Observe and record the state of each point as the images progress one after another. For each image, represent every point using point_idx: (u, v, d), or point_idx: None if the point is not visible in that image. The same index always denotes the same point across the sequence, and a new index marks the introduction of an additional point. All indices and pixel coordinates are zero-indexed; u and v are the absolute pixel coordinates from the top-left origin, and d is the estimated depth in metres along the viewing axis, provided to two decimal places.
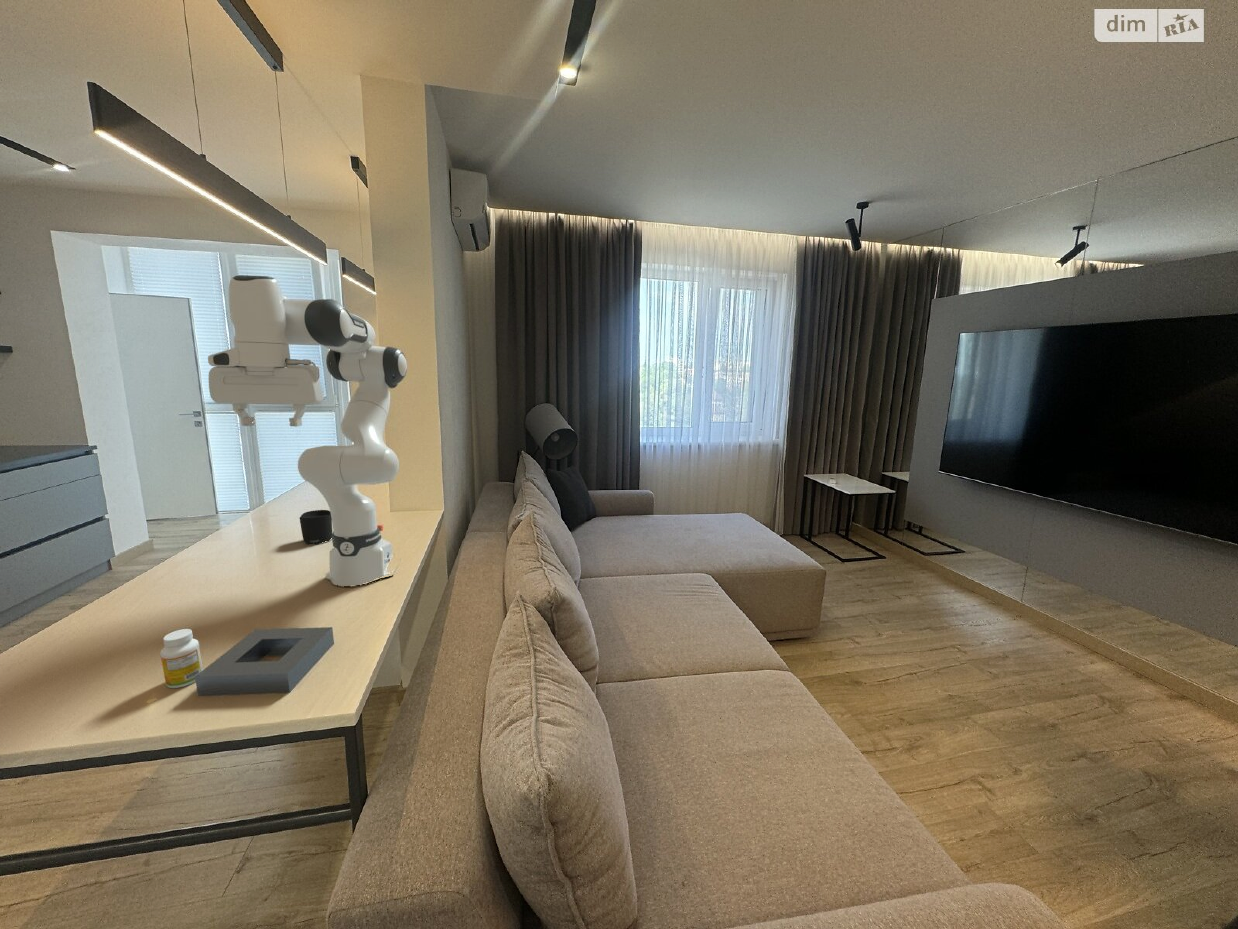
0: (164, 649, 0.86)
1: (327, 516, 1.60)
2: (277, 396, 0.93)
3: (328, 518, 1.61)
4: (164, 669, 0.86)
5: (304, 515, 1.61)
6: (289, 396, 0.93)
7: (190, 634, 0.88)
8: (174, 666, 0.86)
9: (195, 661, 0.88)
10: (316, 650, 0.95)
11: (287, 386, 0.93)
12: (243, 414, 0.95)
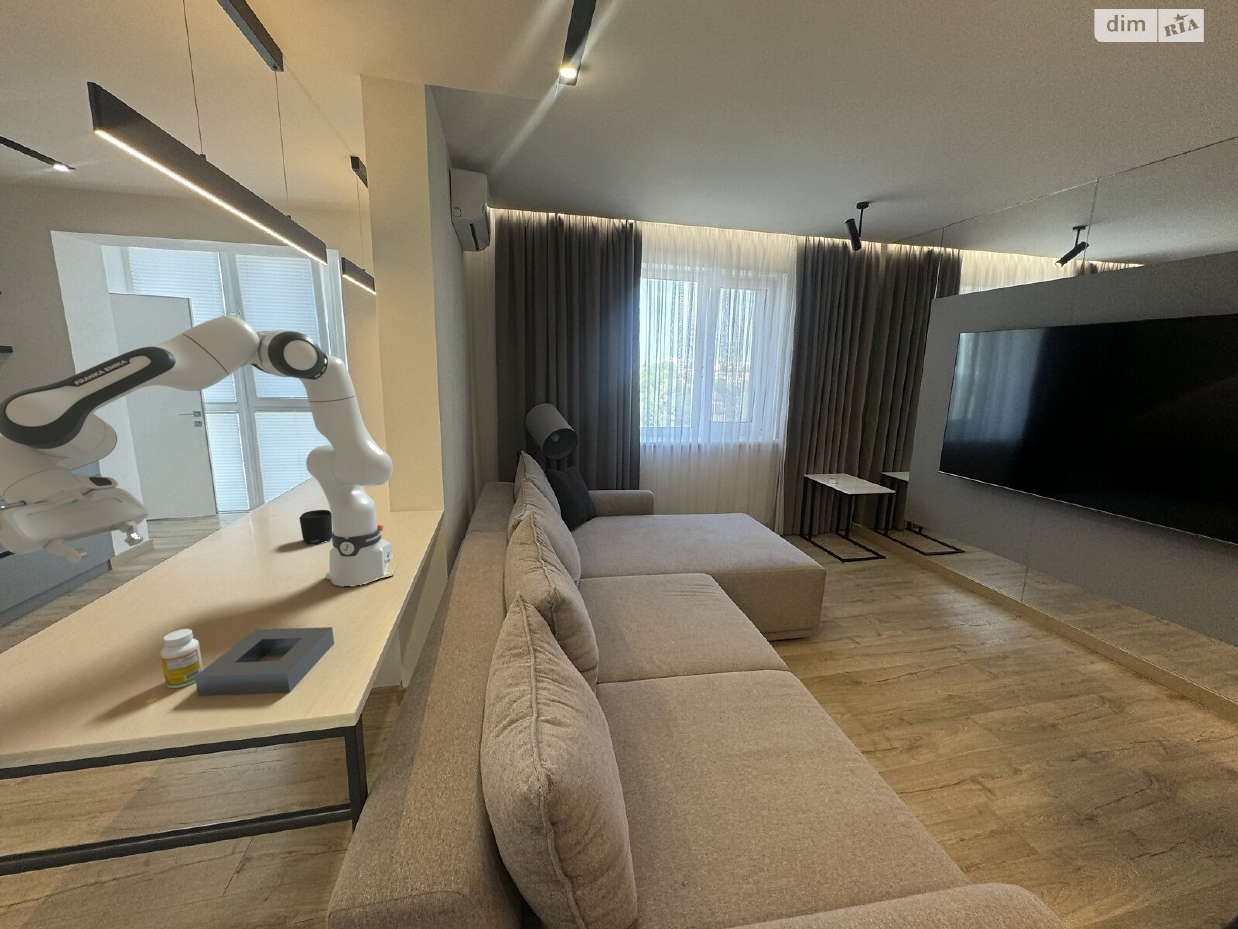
0: (164, 649, 0.86)
1: (327, 516, 1.60)
2: None
3: (328, 518, 1.61)
4: (164, 669, 0.86)
5: (304, 515, 1.61)
6: None
7: (190, 634, 0.88)
8: (174, 666, 0.86)
9: (195, 661, 0.88)
10: (316, 650, 0.95)
11: None
12: (129, 535, 0.90)
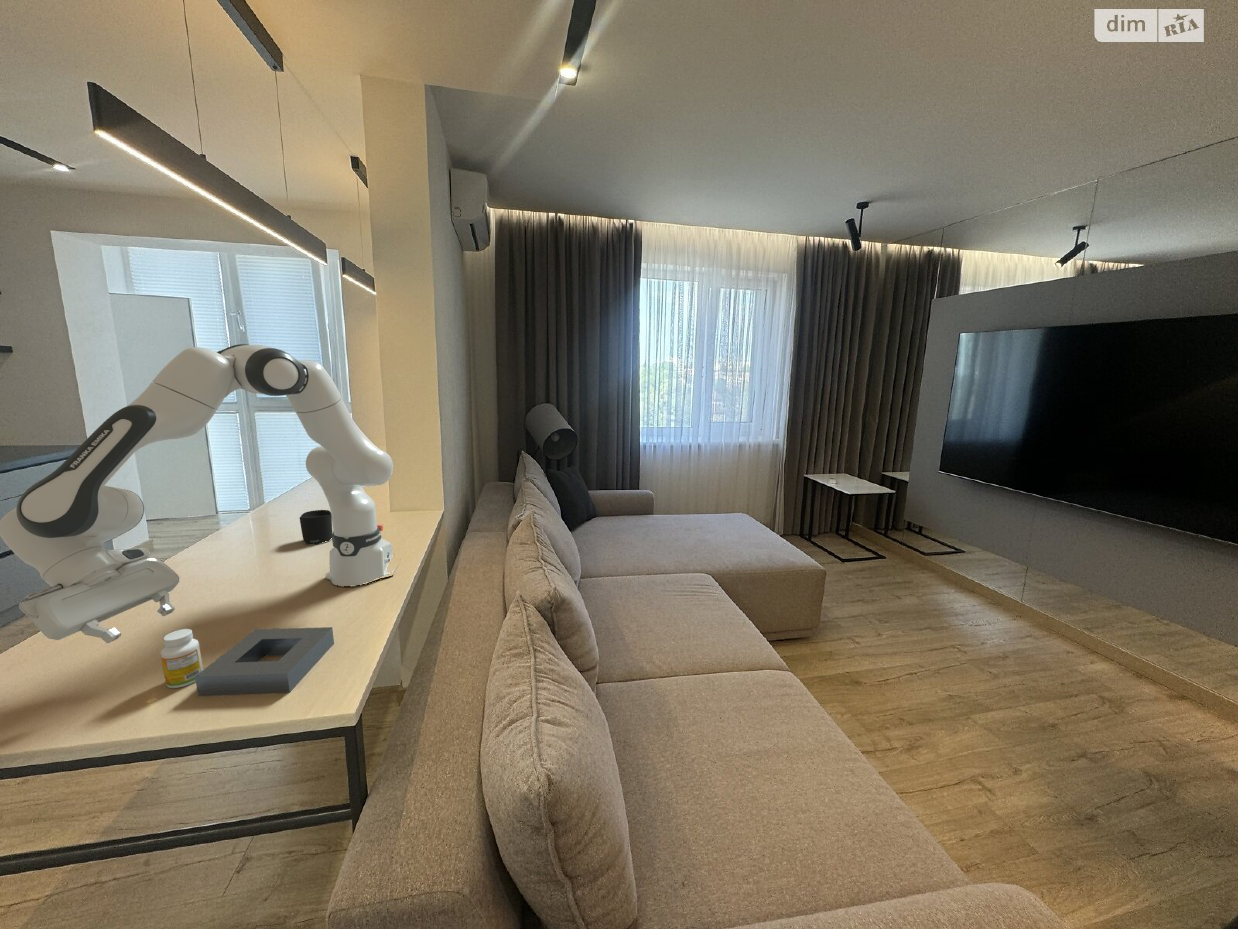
0: (164, 649, 0.86)
1: (327, 516, 1.60)
2: None
3: (328, 518, 1.61)
4: (164, 669, 0.86)
5: (304, 515, 1.61)
6: None
7: (190, 634, 0.88)
8: (174, 666, 0.86)
9: (195, 661, 0.88)
10: (316, 650, 0.95)
11: None
12: (161, 604, 0.92)
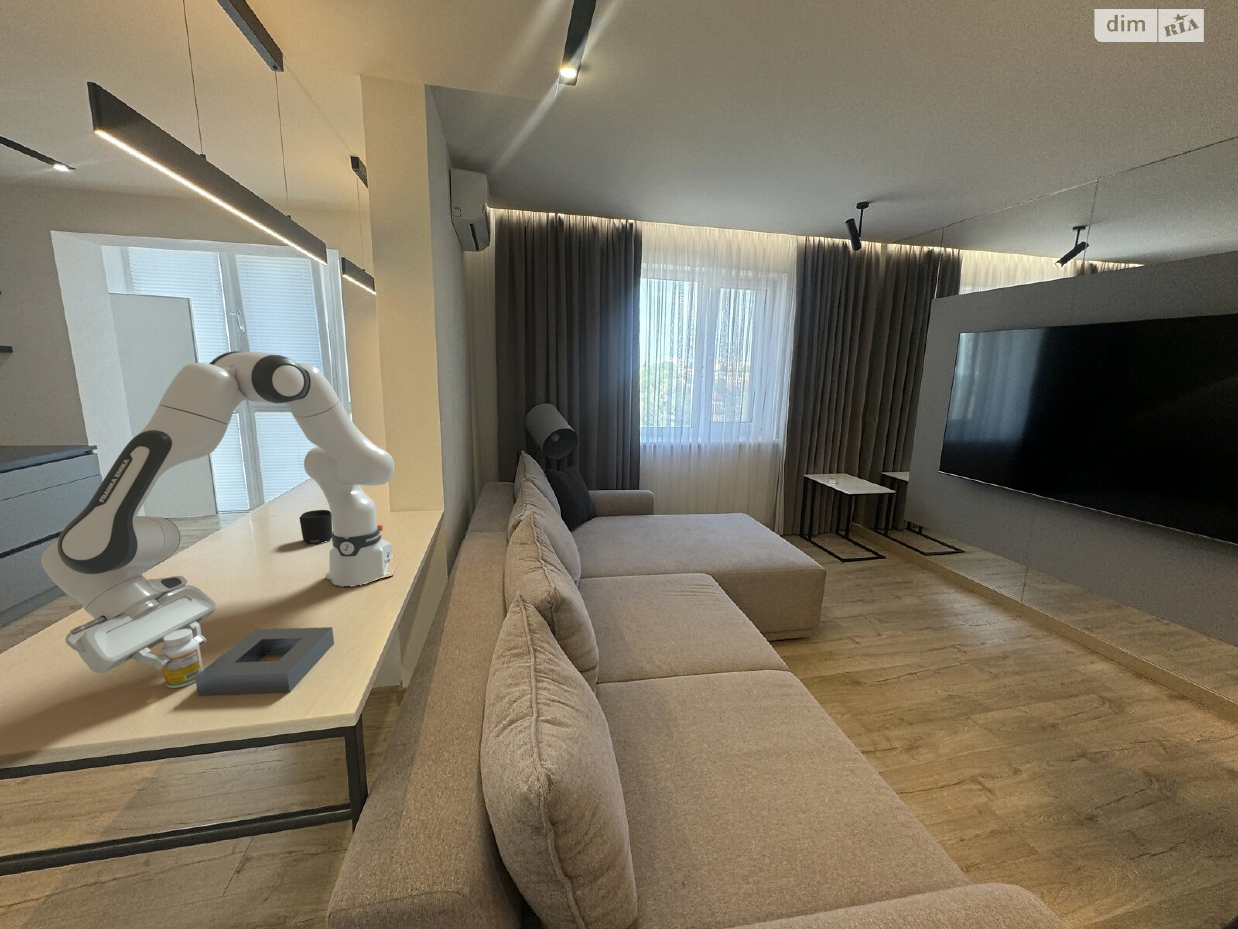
0: (164, 649, 0.86)
1: (327, 516, 1.60)
2: None
3: (328, 518, 1.61)
4: (164, 669, 0.86)
5: (304, 515, 1.61)
6: None
7: (190, 634, 0.88)
8: (174, 666, 0.86)
9: (195, 661, 0.88)
10: (316, 650, 0.95)
11: None
12: (193, 636, 0.91)
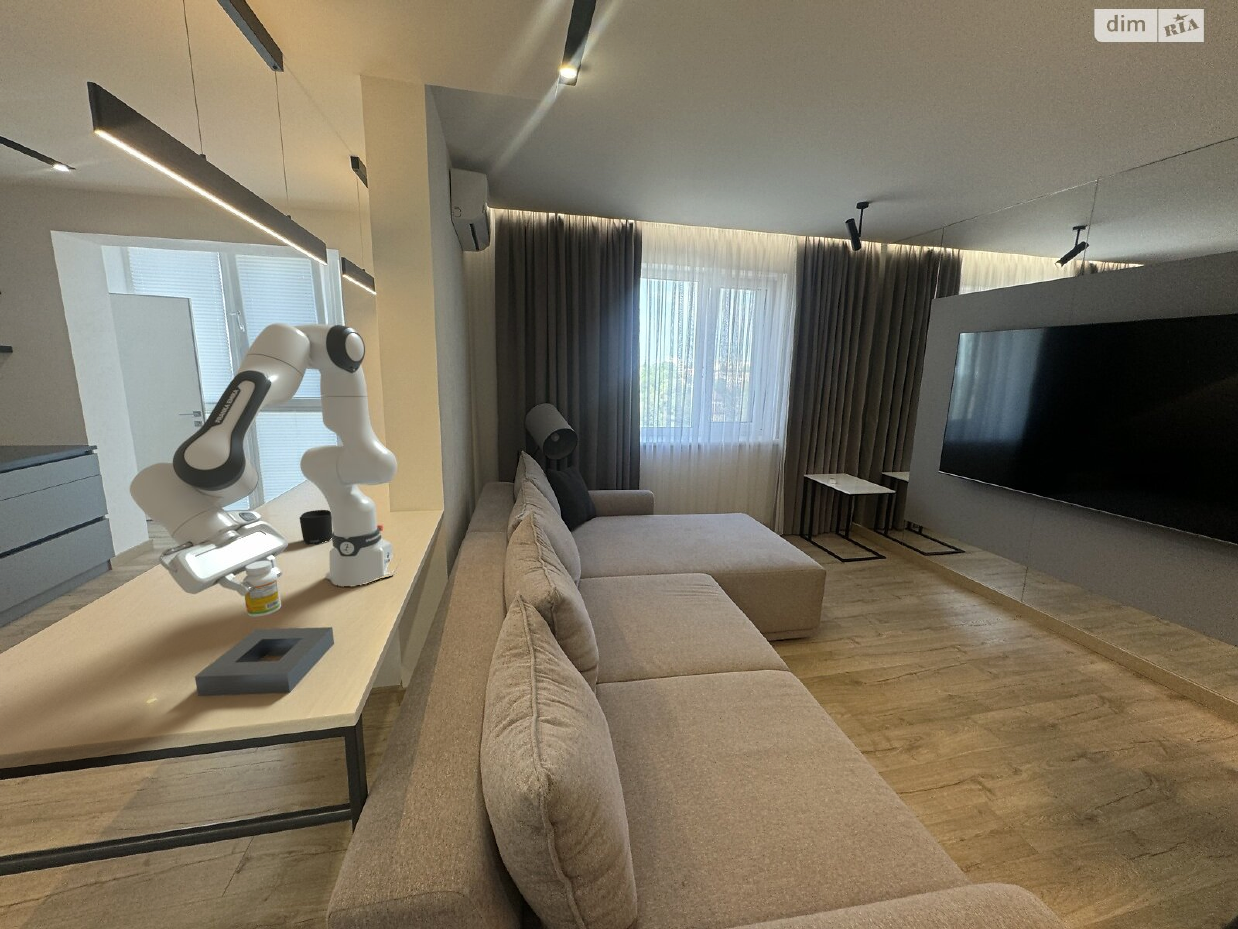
0: (246, 578, 0.88)
1: (327, 516, 1.60)
2: None
3: (328, 518, 1.61)
4: (246, 597, 0.88)
5: (304, 515, 1.61)
6: None
7: (270, 565, 0.90)
8: (256, 595, 0.88)
9: (275, 591, 0.90)
10: (316, 650, 0.95)
11: None
12: None
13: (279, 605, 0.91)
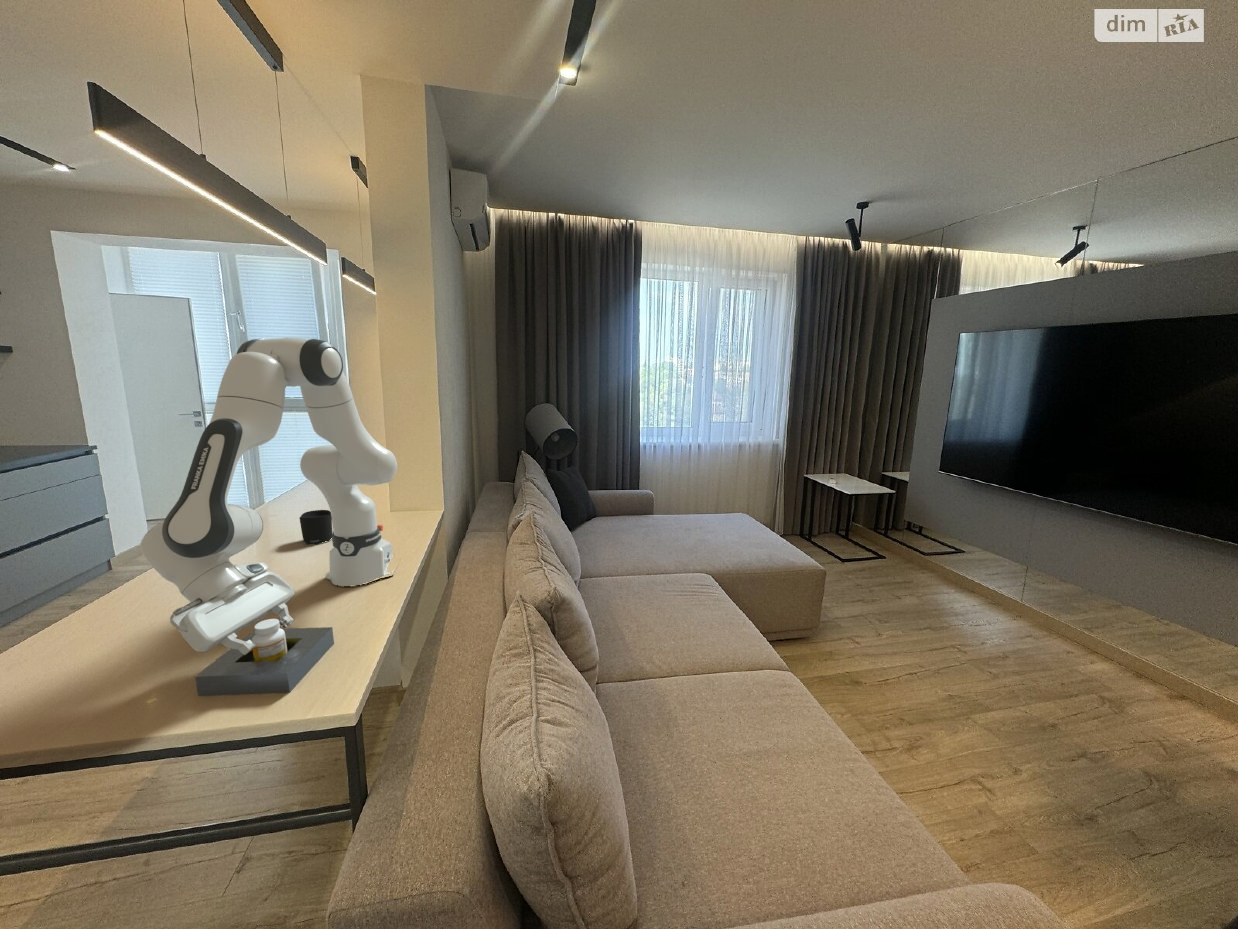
0: (255, 637, 0.90)
1: (327, 516, 1.60)
2: None
3: (328, 518, 1.61)
4: (255, 656, 0.90)
5: (304, 515, 1.61)
6: None
7: (278, 623, 0.92)
8: (265, 654, 0.90)
9: (282, 649, 0.92)
10: (316, 650, 0.95)
11: None
12: (281, 616, 0.97)
13: None
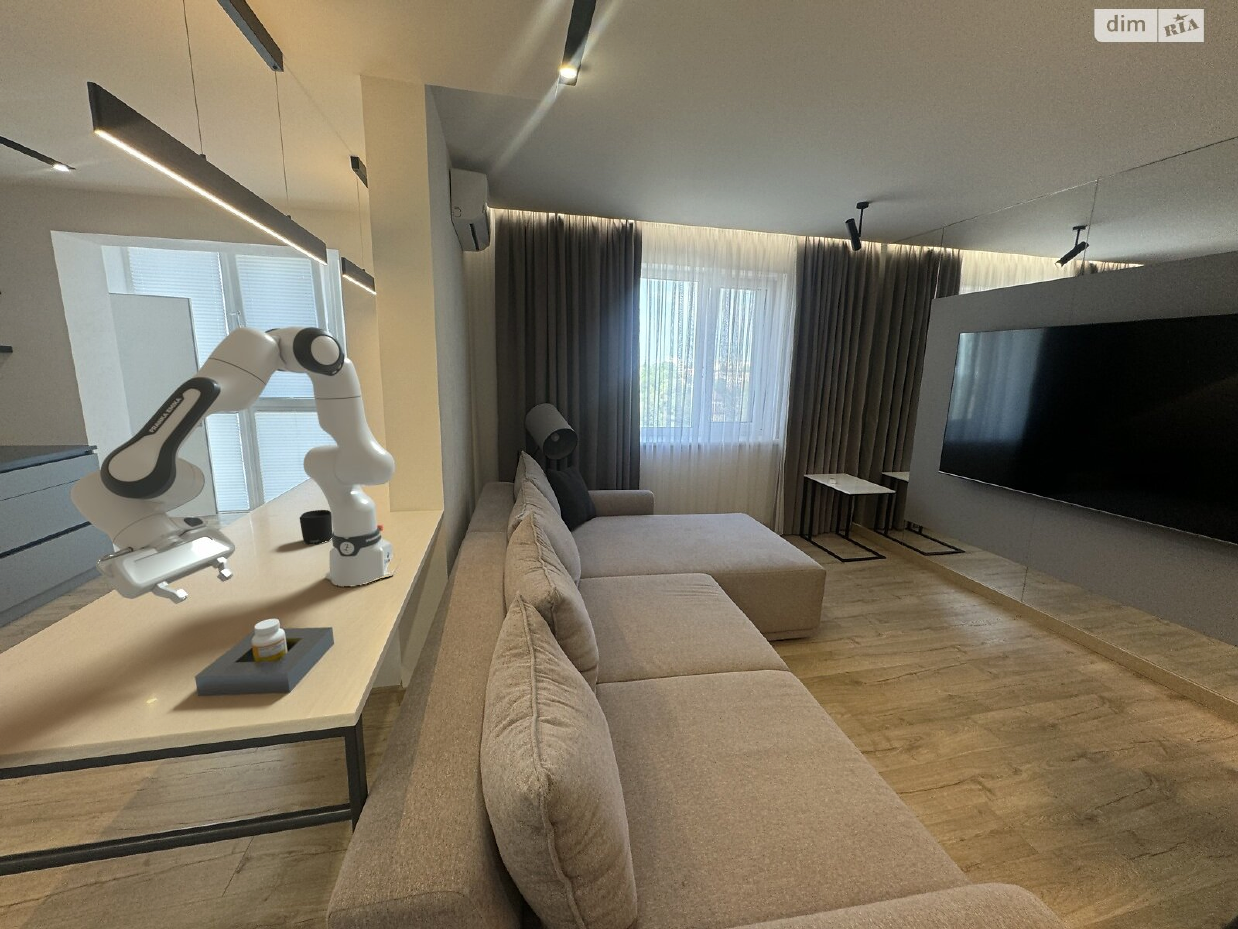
0: (255, 637, 0.90)
1: (327, 516, 1.60)
2: None
3: (328, 518, 1.61)
4: (255, 656, 0.90)
5: (304, 515, 1.61)
6: None
7: (278, 623, 0.92)
8: (265, 654, 0.90)
9: (282, 649, 0.92)
10: (316, 650, 0.95)
11: None
12: (220, 571, 0.96)
13: None
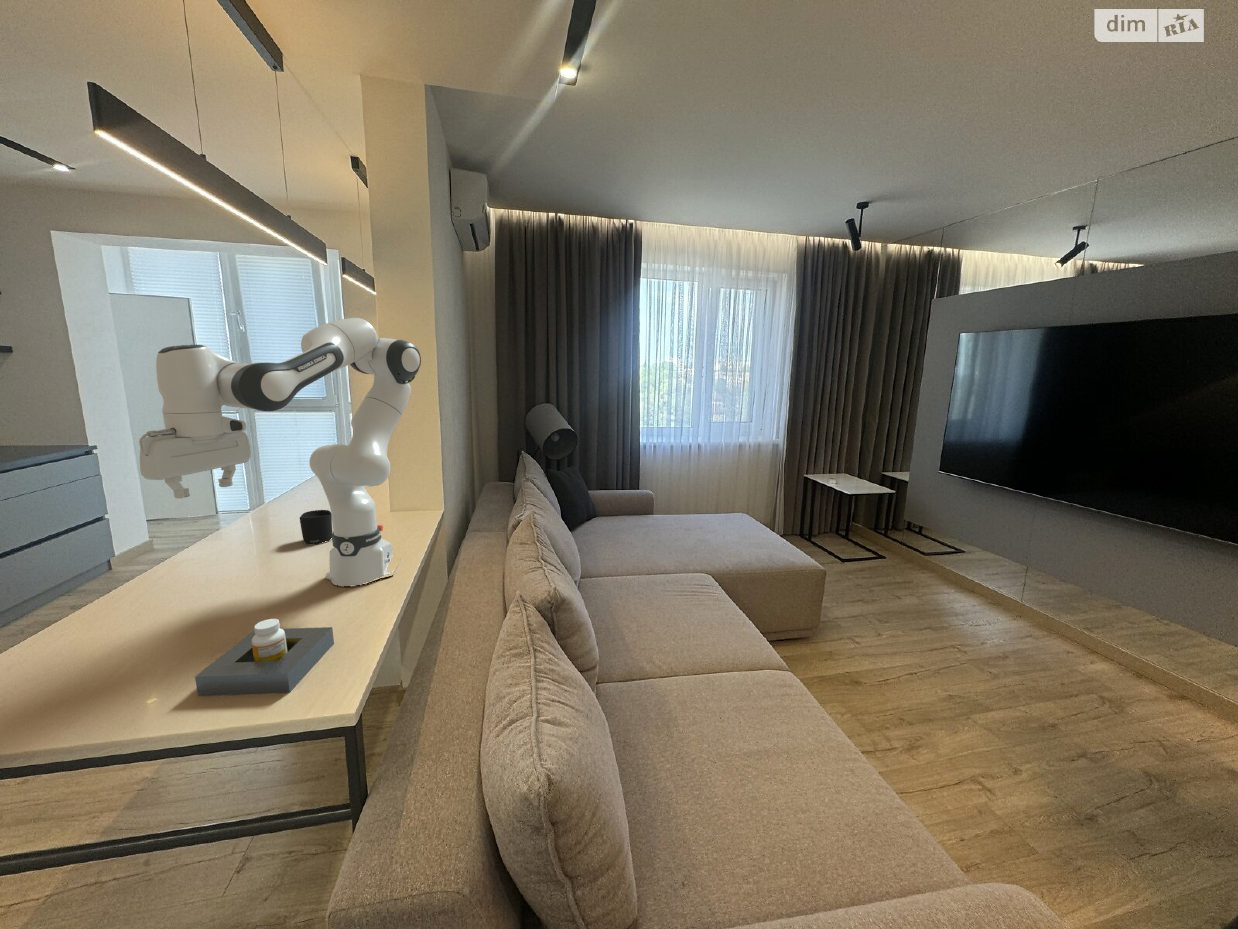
0: (255, 637, 0.90)
1: (327, 516, 1.60)
2: None
3: (328, 518, 1.61)
4: (255, 656, 0.90)
5: (304, 515, 1.61)
6: None
7: (278, 623, 0.92)
8: (265, 654, 0.90)
9: (282, 649, 0.92)
10: (316, 650, 0.95)
11: None
12: (224, 475, 1.00)
13: None
